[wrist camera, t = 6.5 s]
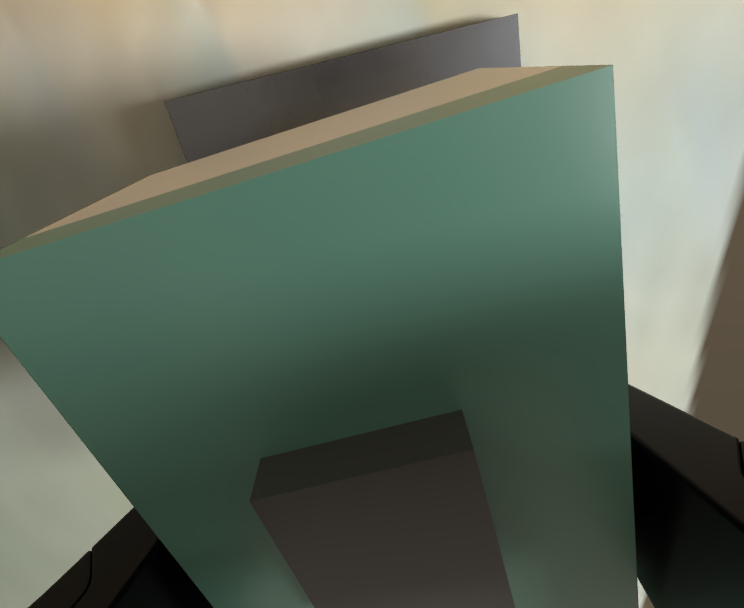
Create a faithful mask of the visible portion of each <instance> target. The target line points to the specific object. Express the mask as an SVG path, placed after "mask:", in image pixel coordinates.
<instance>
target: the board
mask: <svg viewBox="0 0 744 608" xmlns="http://www.w3.org/2000/svg"><path fill="white" fill-rule="evenodd" d="M0 337H1V339H2V340H3V341H4V343H5V344H6V345H7V346H8V348H9V349H10V350H11V351H12V353H13V354H14V355H15V356H16V358H17V359H18V360H19V362H20V363H21V364H22V365H23V367H24V368H25V369H26V370H27V372H28V373H29V374H30V376H31V377H32V378H33V379H34V381H35V382H36V383H37V384H38V386H39V387H40V388H41V389H42V391H43V392H44V393H45V395H46V396H47V397H48V398H49V400H50V401H51V402H52V403H53V405H54V406H55V407H56V408H57V410H58V411H59V412H60V414H61V415H62V416H63V417H64V419H65V420H66V421H67V422H68V424H69V425H70V426H71V428H72V429H73V430H74V431H75V433H76V434H77V435H78V436H79V438H80V439H81V440H82V441H83V443H84V444H85V445H86V447H87V448H88V449H89V450H90V452H91V453H92V454H93V455H94V457H95V458H96V459H97V460H98V462H99V463H100V464H101V466H102V467H103V468H104V469H105V471H106V472H107V473H108V474H109V476H110V477H111V478H112V479H113V481H114V482H115V483H116V485H117V486H118V487H119V488H120V490H121V491H122V492H123V493H124V495H125V496H126V497H127V499H128V500H129V501H130V502H131V504H132V505H133V506H134V507H135V509H136V510H137V511H138V512H139V514H140V515H141V516H142V518H143V519H144V520H145V521H146V523H147V524H148V525H149V526H150V528H151V529H152V530H153V531H154V533H155V534H156V535H157V537H158V538H159V539H160V540H161V542H162V543H163V544H164V545H165V547H166V548H167V549H168V551H169V552H170V553H171V554H172V556H173V557H174V558H175V559H176V561H177V562H178V563H179V564H180V566H181V567H182V568H183V570H184V571H185V572H186V573H187V575H188V576H189V577H190V578H191V580H192V581H193V582H194V583H195V585H196V586H197V587H198V589H199V590H200V591H201V592H202V594H203V595H204V596H205V597H206V599H207V600H208V601H209V602H210V604H211V605H212V606H213V608H639V607H638V586H637V565H636V544H635V522H634V501H633V480H632V459H631V438H630V416H629V395H628V374H627V353H626V331H625V310H624V289H623V268H622V247H621V225H620V204H619V183H618V162H617V141H616V119H615V98H614V77H613V65H586V66H546V67H506V68H478V69H475V70H472V71H469V72H466V73H462V74H459V75H456V76H453V77H450V78H447V79H444V80H441V81H438V82H435V83H432V84H429V85H426V86H423V87H419V88H416V89H413V90H410V91H407V92H404V93H401V94H398V95H395V96H392V97H389V98H386V99H383V100H380V101H377V102H373V103H370V104H367V105H364V106H361V107H358V108H355V109H352V110H349V111H346V112H343V113H340V114H337V115H334V116H330V117H327V118H324V119H321V120H318V121H315V122H312V123H309V124H306V125H303V126H300V127H297V128H294V129H291V130H287V131H284V132H281V133H278V134H275V135H272V136H269V137H266V138H263V139H260V140H257V141H254V142H251V143H248V144H245V145H241V146H238V147H235V148H232V149H229V150H226V151H223V152H220V153H217V154H214V155H211V156H208V157H205V158H202V159H198V160H195V161H192V162H189V163H186V164H183V165H180V166H177V167H174V168H171V169H168V170H165V171H162V172H159V173H155V174H152V175H150V176H148V177H146V178H144V179H142V180H140V181H138V182H136V183H134V184H132V185H130V186H128V187H126V188H124V189H122V190H120V191H118V192H116V193H114V194H112V195H109V196H107V197H105V198H103V199H101V200H99V201H97V202H95V203H93V204H91V205H89V206H87V207H85V208H83V209H81V210H79V211H77V212H75V213H73V214H71V215H69V216H67V217H65V218H63V219H61V220H59V221H57V222H55V223H53V224H51V225H49V226H47V227H45V228H43V229H41V230H39V231H37V232H35V233H33V234H31V235H29V236H27V237H25V238H23V239H21V240H19V241H17V242H15V243H13V244H11V245H9V246H7V247H5V248H2V249H0Z"/></svg>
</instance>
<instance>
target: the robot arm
mask: <svg viewBox="0 0 744 608" xmlns="http://www.w3.org/2000/svg"><path fill="white" fill-rule="evenodd" d="M628 395H629V416H630V438H631V459H632V480H633V501H634V522H635V544H636V565H637V577H638V579H639V581H640V583H641V585H642V586H643V588H644V590H645V592H646V594H647V595H648V597H649V599H650V601H651V602H652V604H653V606H654V608H744V441H741V442H740V443H739V439H738V438H736V437H734V436H733V435H731V434H728V433H727V432H725V431H722V430H720V429H718V428H716V427H714V426H712V425H710V424H708V423H706V422H704V421H702V420H700V419H698V418H696V417H694V416H692V415H690V414H688V413H686V412H684V411H682V410H680V409H678V408H676V407H674V406H672V405H670V404H668V403H666V402H664V401H662V400H660V399H658V398H656V397H654V396H652V395H649V394H647V393H645V392H643V391H641V390H639V389H637V388H635V387H633V386H631V385H629V384H628ZM28 608H213V606H212V605H211V604H210V602H209V601H208V600H207V599H206V597H205V596H204V595H203V594H202V592H201V591H200V590H199V589H198V587H197V586H196V585H195V583H194V582H193V581H192V580H191V578H190V577H189V576H188V575H187V573H186V572H185V571H184V570H183V568H182V567H181V566H180V564H179V563H178V562H177V561H176V559H175V558H174V557H173V556H172V554H171V553H170V552H169V551H168V549H167V548H166V547H165V545H164V544H163V543H162V542H161V540H160V539H159V538H158V537H157V535H156V534H155V533H154V531H153V530H152V529H151V528H150V526H149V525H148V524H147V523H146V521H145V520H144V519H143V518H142V516H141V515H140V514H139V512H138V511H137V510H136V509H135V507H134V508H133V509H132V510H130V511H129V512H128V513H127V514H126V515H125V516H124V517H123V518H122V519H121V520H120V521H119V522H118V523H117V524H116V525H115V526H114V527H113V528H112V529H111V530H110V531H109V532H108V533H107V534H106V535H105V536H104V537H103V538H102V539H100V540H99V541H98V542H97V543H96V544H95V545H94V546H93V547H92V551H88V552H87V553H86V554H85V555H84V556H83V557H82V558H81V559H80V560H79V561H78V562H77V563H76V564H75V565H74V566H72V567H71V568H70V569H69V570H68V571H67V572H66V573H65V574H64V575H63V576H62V577H61V578H60V579H59V580H58V581H57V582H56V583H54V584H53V585H52V586H51V587H50V588H49V589H48V590H47V591H46V592H45V593H44V594H43V595H42V596H41V597H39V598H38V599H37V600H36V601H35V602H34V603H33V604H32V605H30V606H29V607H28Z"/></svg>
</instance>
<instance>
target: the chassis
mask: <svg viewBox="0 0 744 608" xmlns="http://www.w3.org/2000/svg"><path fill="white" fill-rule="evenodd" d="M506 67H521V61H520V44H519V27H518V13H517V14H513V15H509V16H505V17H501V18H497V19H493V20H489V21H485V22H481V23H477V24H473V25H469V26H465V27H461V28H457V29H453V30H449V31H445V32H441V33H437V34H433V35H429V36H425V37H421V38H417V39H413V40H409V41H405V42H401V43H397V44H393V45H389V46H385V47H381V48H377V49H373V50H369V51H365V52H361V53H357V54H353V55H349V56H345V57H341V58H336V59H332V60H328V61H324V62H320V63H316V64H312V65H308V66H304V67H300V68H296V69H292V70H288V71H284V72H280V73H276V74H272V75H268V76H264V77H260V78H256V79H252V80H248V81H244V82H240V83H236V84H232V85H228V86H224V87H220V88H216V89H212V90H208V91H204V92H200V93H196V94H192V95H188V96H184V97H180V98H176V99H172V100H168V101H164V103H165V105H166V108H167V110H168V113H169V115H170V118H171V121H172V123H173V126H174V128H175V131H176V133H177V136H178V138H179V141H180V144H181V146H182V149H183V151H184V154H185V156H186V159H187V161H188V163H189V162H192V161H195V160H198V159H202V158H205V157H208V156H211V155H214V154H217V153H220V152H223V151H226V150H229V149H232V148H235V147H238V146H241V145H245V144H248V143H251V142H254V141H257V140H260V139H263V138H266V137H269V136H272V135H275V134H278V133H281V132H284V131H287V130H291V129H294V128H297V127H300V126H303V125H306V124H309V123H312V122H315V121H318V120H321V119H324V118H327V117H330V116H334V115H337V114H340V113H343V112H346V111H349V110H352V109H355V108H358V107H361V106H364V105H367V104H370V103H373V102H377V101H380V100H383V99H386V98H389V97H392V96H395V95H398V94H401V93H404V92H407V91H410V90H413V89H416V88H419V87H423V86H426V85H429V84H432V83H435V82H438V81H441V80H444V79H447V78H450V77H453V76H456V75H459V74H462V73H466V72H469V71H472V70H475V69H478V68H506Z"/></svg>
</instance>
